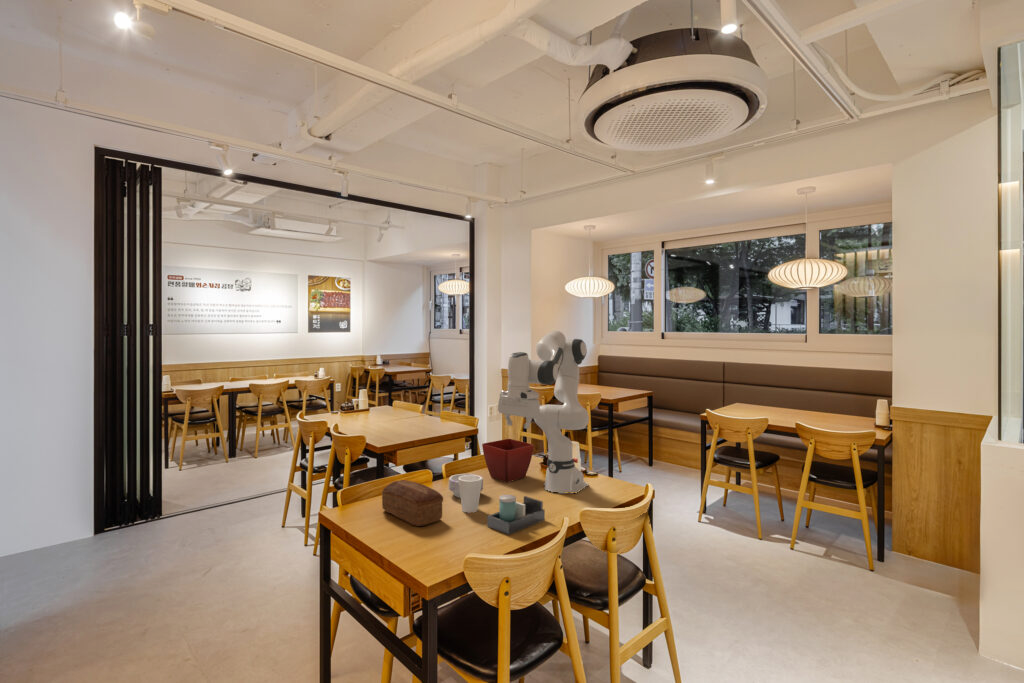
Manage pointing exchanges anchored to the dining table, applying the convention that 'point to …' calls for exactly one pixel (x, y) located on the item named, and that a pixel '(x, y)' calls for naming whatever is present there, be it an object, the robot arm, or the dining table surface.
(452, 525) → the dining table surface
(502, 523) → the grey open box
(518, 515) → the plate
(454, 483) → the pale lilac bowl
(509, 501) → the jar
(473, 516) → the dining table surface
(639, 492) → the dining table surface
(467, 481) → the foam cup
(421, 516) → the bread
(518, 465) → the plant pot
